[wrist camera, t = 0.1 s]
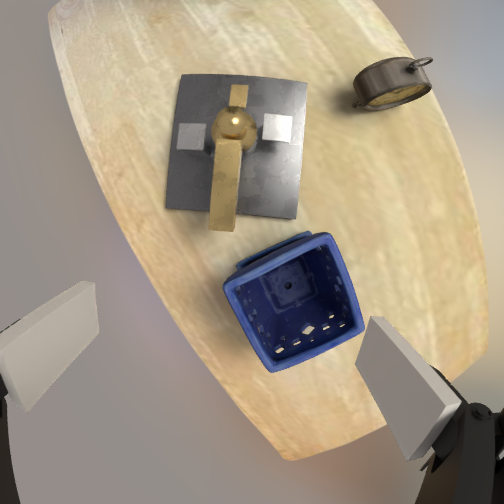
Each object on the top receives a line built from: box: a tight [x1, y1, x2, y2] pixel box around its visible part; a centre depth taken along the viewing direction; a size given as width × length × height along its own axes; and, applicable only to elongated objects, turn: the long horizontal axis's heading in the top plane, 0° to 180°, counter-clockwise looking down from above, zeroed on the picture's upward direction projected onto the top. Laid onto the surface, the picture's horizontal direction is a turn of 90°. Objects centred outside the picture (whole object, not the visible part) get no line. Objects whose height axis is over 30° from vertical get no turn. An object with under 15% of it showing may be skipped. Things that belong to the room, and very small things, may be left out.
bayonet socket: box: [166, 74, 307, 219], centre depth 33 cm, size 20×18×7 cm
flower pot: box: [223, 231, 365, 373], centre depth 35 cm, size 13×13×12 cm
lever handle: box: [209, 84, 257, 232], centre depth 28 cm, size 17×5×7 cm, turn 175°
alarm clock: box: [353, 57, 433, 111], centre depth 26 cm, size 11×5×16 cm, turn 110°
